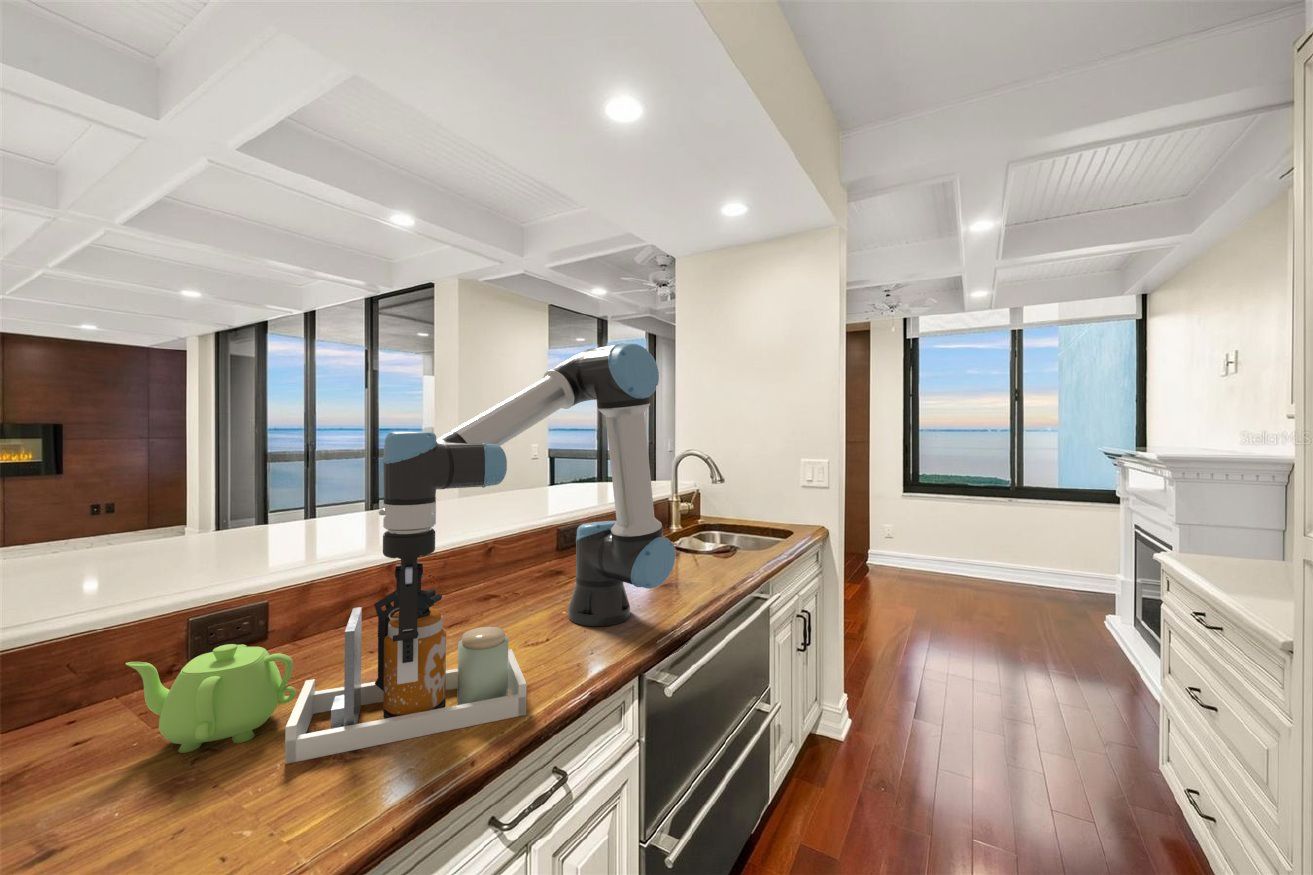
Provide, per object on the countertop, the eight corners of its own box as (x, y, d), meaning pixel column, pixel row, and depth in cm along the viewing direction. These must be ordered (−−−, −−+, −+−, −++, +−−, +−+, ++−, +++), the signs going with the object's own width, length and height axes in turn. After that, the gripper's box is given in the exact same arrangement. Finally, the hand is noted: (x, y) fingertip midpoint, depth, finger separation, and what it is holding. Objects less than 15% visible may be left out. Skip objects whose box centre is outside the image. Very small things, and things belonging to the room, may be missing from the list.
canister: (423, 733, 79) (424, 599, 78) (357, 725, 80) (358, 594, 80) (456, 703, 87) (457, 582, 87) (396, 696, 89) (397, 578, 89)
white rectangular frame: (511, 676, 97) (511, 649, 97) (526, 714, 84) (526, 683, 84) (305, 711, 84) (305, 680, 84) (285, 764, 71) (285, 727, 71)
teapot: (171, 781, 67) (171, 683, 67) (124, 748, 74) (124, 659, 74) (304, 720, 82) (305, 639, 82) (255, 697, 88) (255, 622, 88)
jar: (503, 685, 94) (504, 623, 94) (511, 707, 86) (512, 639, 86) (455, 694, 90) (456, 629, 90) (459, 717, 83) (460, 647, 83)
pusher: (360, 705, 86) (361, 607, 86) (353, 741, 76) (354, 630, 76) (337, 709, 84) (338, 609, 84) (327, 746, 75) (328, 633, 74)
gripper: (386, 518, 93) (385, 637, 93) (377, 547, 70) (375, 705, 71) (433, 515, 96) (431, 631, 97) (438, 543, 74) (436, 694, 74)
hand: (408, 663), depth 84 cm, fingers open, 13 cm apart
